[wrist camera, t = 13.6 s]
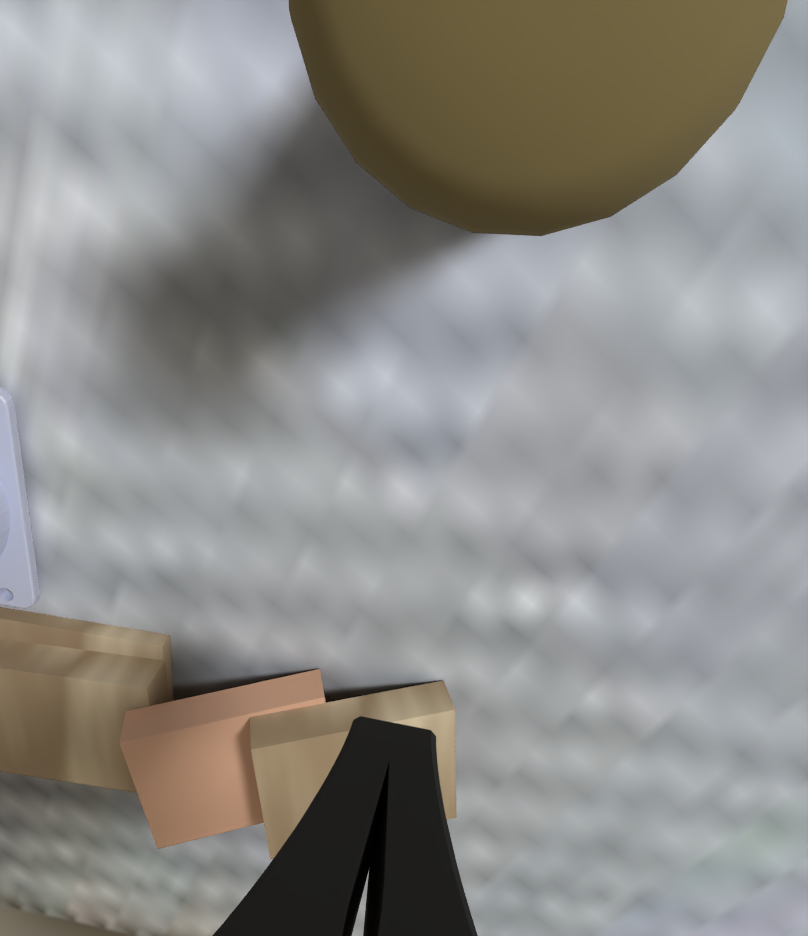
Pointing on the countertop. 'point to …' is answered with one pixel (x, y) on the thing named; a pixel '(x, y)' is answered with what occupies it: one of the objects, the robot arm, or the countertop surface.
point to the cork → (529, 98)
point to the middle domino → (72, 711)
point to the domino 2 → (205, 756)
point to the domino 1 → (86, 637)
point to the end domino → (338, 748)
